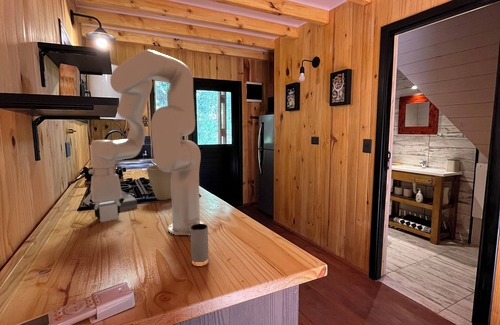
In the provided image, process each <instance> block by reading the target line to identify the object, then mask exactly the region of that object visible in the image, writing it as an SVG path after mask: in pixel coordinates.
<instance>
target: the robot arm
mask: <svg viewBox="0 0 500 325" xmlns="http://www.w3.org/2000/svg"><path fill="white" fill-rule="evenodd" d="M109 80H110V82H109V83H110V86H111V88H112V89H113V91H115V92H116V93H118V94H121V96H120V100H119V102H120V106H119V105H118V106H119V107H117V109H116V110H117V111H116V112H117V114H118V115H119V116H120V117H121V118H123V119H124V120H126V121H127V122H128V125H129V131H128V134H127V137H126V138H124V139H123V138H122V139H120V138H119V139H112V140H111V139H96V140H93V141H91V142H90V148H91V158H92V160H91V161H92V169H90V170H88V174H89V175H92V176H91V180H90V193H89V194H88V196H86V198H84V199H83V203H84V204H86V206H87V205H88V206H89V207H90V208H92V209H93V210H94V217H95V218H97V220H99V219H100V211H99V208H98V207H99V204H100V203H102V202H108V201H115V203H116V204H117V210H118V217H119V215H120V213H121V211H120V205H121V203H122V202H123V201H124V199H126V197H127V196H128V194H127V193H126V192H125V191H123V190H122V188H121V187H122V186H121V181H120V177H119V174H117V173H116V163H115V162H117V161H121V160H125V159H126V160H127V159H133V158H135V157H137V156H138V155H139V154H140V152H141V150H142V148H143V144H144V142H145V139H146V130H145V124H144V122H143V116H144V114H145V111H146V110H145V109H146V107H147V103H148V100H149V97H150V94H151V92H152V88H153V80H154V81H157V82H163V83H167V84H169V86H168V87H167V92H166V93H167V95H166V99H167V105H165V106H162V107H158V108H157V109H156V110H155V112H154V113H153V114H152V118H151V120H150V129H151V131H150V132H151V140H152V141H151V142H152V145H151V146H152V154H153V160H154V163H155V165H157V167H158V168H159V169H160V170H162V171H164V172H172V175H171V198H170V200H171V222H172V223H171V224H169V225H168V227H167V231H169V232H170V233H169V232H168V233H169V234H171V233H172V234H171V235H173V234H176V235H175V236H177V235H188V236H190V235H189V234H191V231H190V227H191V226H192V225H195V224H205V223H204V222H202V221H201V217H200V216H201V215H200V212H201V211H200V209H201V208H200V207H201V206H200V166H201V165H200V164H201V161H202V160H201V154H202V153H201V150H200V148H199V146H198V144H196V143H195V142H194V141H192V140H188V139H181V137H184V136H189V135H190V134H192V133H193V132H194V131H195V128H196V116H195V99H194V77H193V73H192V71H191V69H190V67H189V66H188V65H187V64H186V63H184V62H182V61H181V60H179V59H177V58H174V57H172V56H169V55H168V54H167V55H166V54H163V53H161V52H158V51H155V50H151V49H144V50H141V51H139V52H137V53H136V54H134V55H133V56H131V57H130V58H127V59H126V60H125V61H123V62H121V64H119V65H118V66H116V68H115V69H114V70H113V71H112V73H111V75H110V78H109ZM122 195H123V196H122ZM90 200H92V202H91V201H90ZM99 221H100V220H99Z"/></svg>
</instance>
